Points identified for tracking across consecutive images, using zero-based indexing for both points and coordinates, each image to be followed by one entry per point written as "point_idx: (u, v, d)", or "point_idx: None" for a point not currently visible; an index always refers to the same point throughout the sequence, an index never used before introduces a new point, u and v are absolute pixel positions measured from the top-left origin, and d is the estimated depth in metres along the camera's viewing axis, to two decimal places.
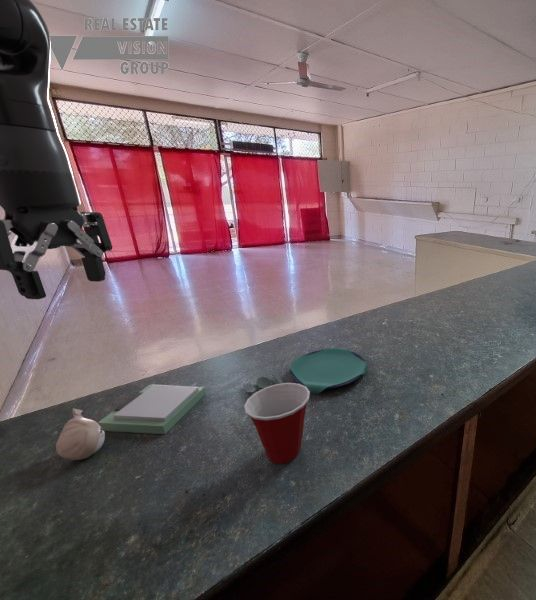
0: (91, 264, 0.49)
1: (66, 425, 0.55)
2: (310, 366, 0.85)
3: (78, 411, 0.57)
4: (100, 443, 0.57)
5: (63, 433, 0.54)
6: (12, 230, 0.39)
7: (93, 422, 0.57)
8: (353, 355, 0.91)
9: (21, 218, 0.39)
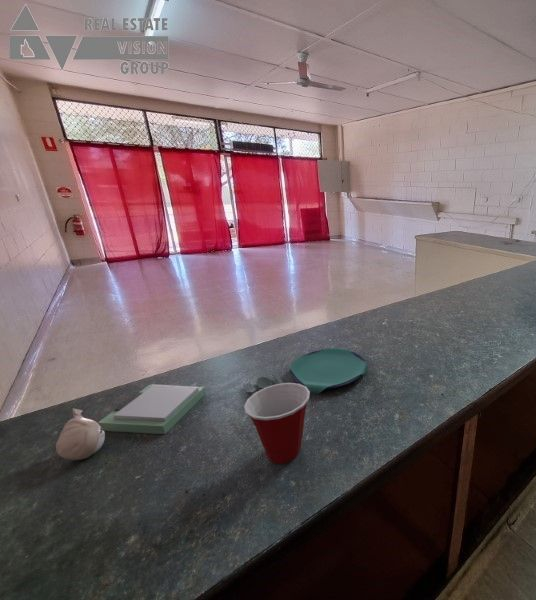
0: None
1: (66, 425, 0.55)
2: (310, 366, 0.85)
3: (78, 411, 0.57)
4: (100, 443, 0.57)
5: (63, 433, 0.54)
6: None
7: (93, 422, 0.57)
8: (353, 355, 0.91)
9: None
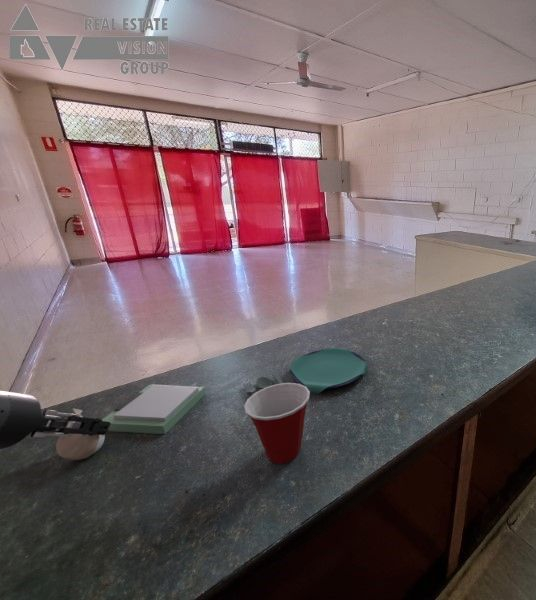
0: None
1: None
2: (310, 366, 0.85)
3: (78, 411, 0.57)
4: (100, 443, 0.57)
5: None
6: None
7: None
8: (353, 355, 0.91)
9: None
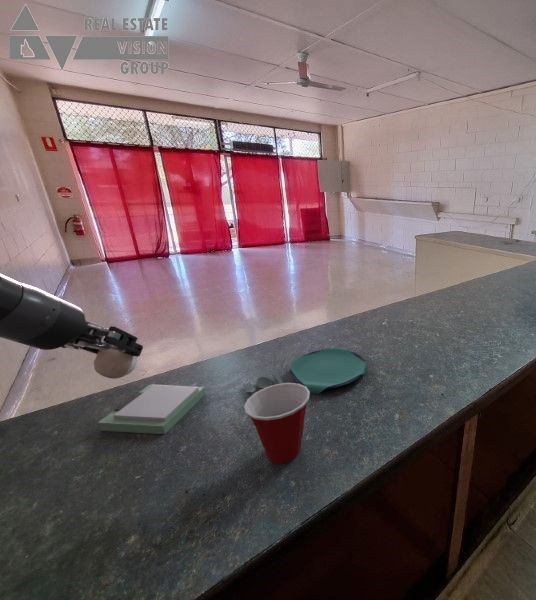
0: None
1: None
2: (310, 366, 0.85)
3: None
4: (133, 365, 0.60)
5: (100, 352, 0.58)
6: None
7: None
8: (353, 355, 0.91)
9: None
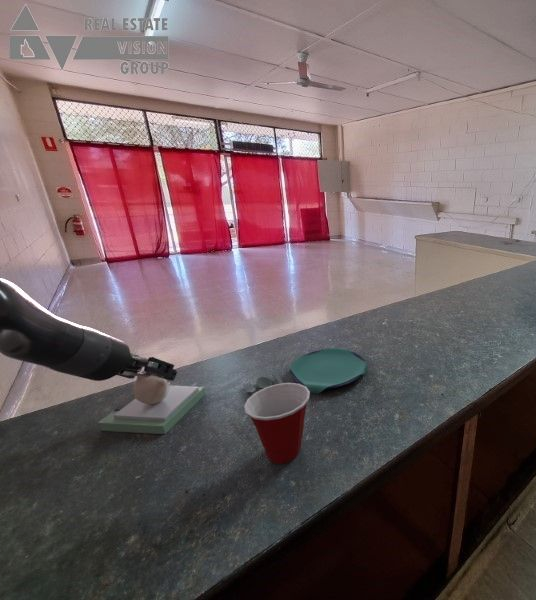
0: None
1: None
2: (310, 366, 0.85)
3: None
4: (167, 391, 0.67)
5: (138, 381, 0.65)
6: None
7: None
8: (353, 355, 0.91)
9: None
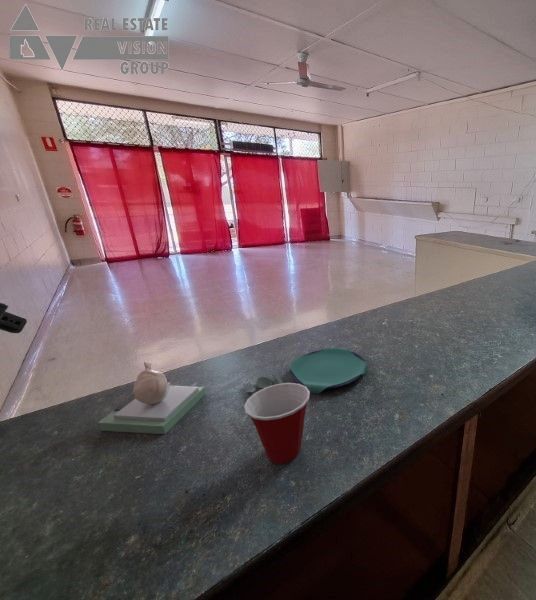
0: None
1: (140, 375, 0.66)
2: (310, 366, 0.85)
3: (148, 365, 0.67)
4: (167, 391, 0.67)
5: (138, 381, 0.65)
6: None
7: (161, 373, 0.67)
8: (353, 355, 0.91)
9: None
